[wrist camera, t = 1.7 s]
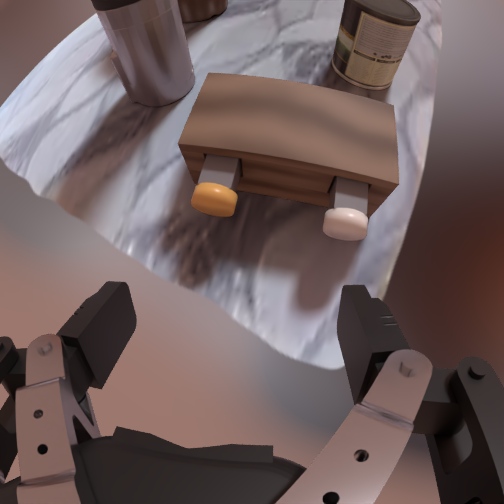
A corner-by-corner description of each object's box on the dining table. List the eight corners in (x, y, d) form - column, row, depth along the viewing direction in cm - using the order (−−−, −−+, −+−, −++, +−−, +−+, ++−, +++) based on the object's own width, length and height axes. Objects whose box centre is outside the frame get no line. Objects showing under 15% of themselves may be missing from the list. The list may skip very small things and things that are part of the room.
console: (370, 216, 31) (399, 184, 23) (194, 183, 33) (177, 143, 25) (372, 145, 34) (393, 105, 26) (217, 117, 35) (208, 72, 27)
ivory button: (358, 243, 27) (372, 230, 23) (318, 235, 28) (327, 220, 24) (362, 184, 29) (375, 165, 25) (326, 176, 29) (334, 155, 25)
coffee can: (317, 61, 38) (330, -12, 24) (356, 45, 39) (373, -18, 26) (369, 99, 36) (398, 24, 22) (403, 79, 37) (432, 16, 24)
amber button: (235, 219, 28) (231, 202, 24) (195, 212, 28) (186, 195, 25) (249, 162, 30) (248, 139, 26) (212, 157, 30) (206, 134, 26)
